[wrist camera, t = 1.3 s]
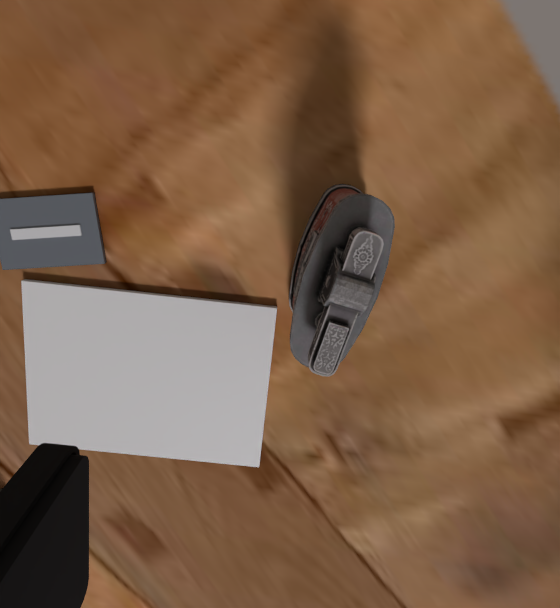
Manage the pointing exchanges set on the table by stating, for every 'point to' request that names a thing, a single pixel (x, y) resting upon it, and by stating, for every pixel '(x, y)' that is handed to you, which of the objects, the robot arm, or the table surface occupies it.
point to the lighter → (337, 275)
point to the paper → (146, 372)
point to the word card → (50, 231)
